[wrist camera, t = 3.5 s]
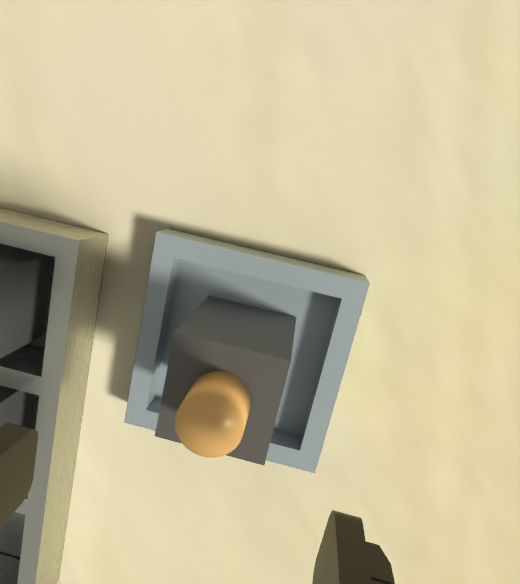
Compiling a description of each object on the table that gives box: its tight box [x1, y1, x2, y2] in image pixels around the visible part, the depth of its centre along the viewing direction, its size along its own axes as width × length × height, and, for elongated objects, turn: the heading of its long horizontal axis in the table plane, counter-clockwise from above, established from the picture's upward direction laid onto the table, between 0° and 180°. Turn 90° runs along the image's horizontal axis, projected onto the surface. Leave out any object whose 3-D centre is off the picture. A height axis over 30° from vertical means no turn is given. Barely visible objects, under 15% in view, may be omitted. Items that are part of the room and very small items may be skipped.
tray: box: [124, 228, 369, 473], centre depth 23 cm, size 10×10×2 cm
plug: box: [155, 296, 296, 465], centre depth 20 cm, size 4×4×8 cm
